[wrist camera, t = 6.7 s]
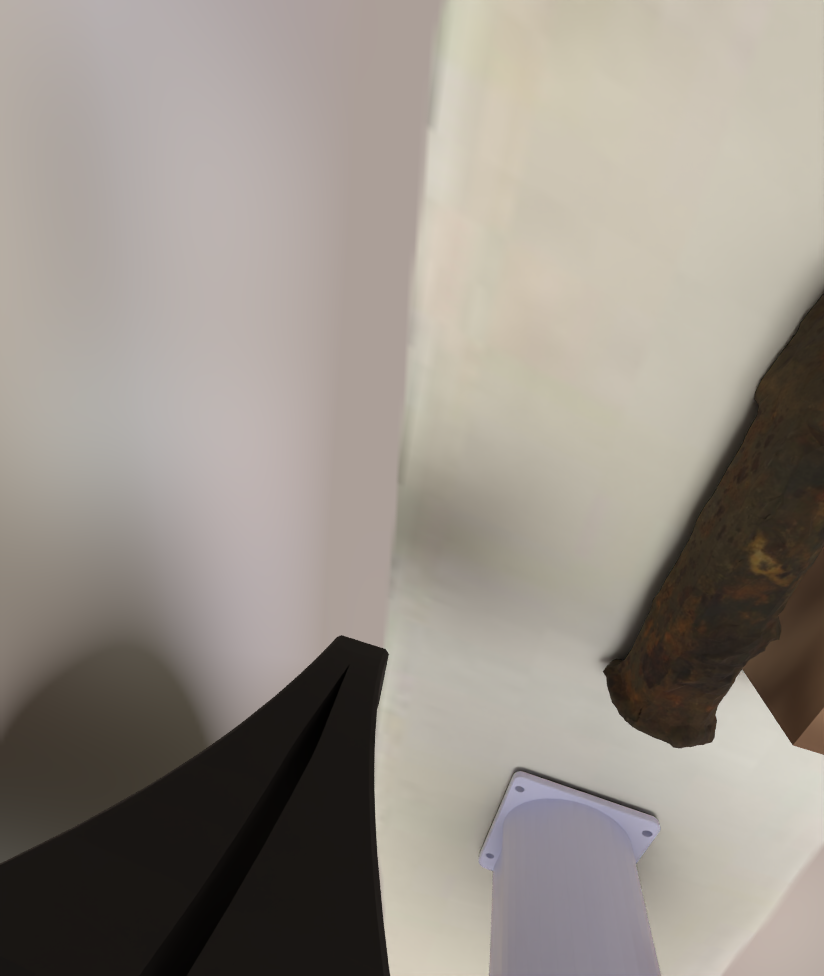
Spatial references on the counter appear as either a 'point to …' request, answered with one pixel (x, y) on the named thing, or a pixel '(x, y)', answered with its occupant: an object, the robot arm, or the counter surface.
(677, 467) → the counter surface
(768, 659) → the stop rail
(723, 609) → the hand tool
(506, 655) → the counter surface
